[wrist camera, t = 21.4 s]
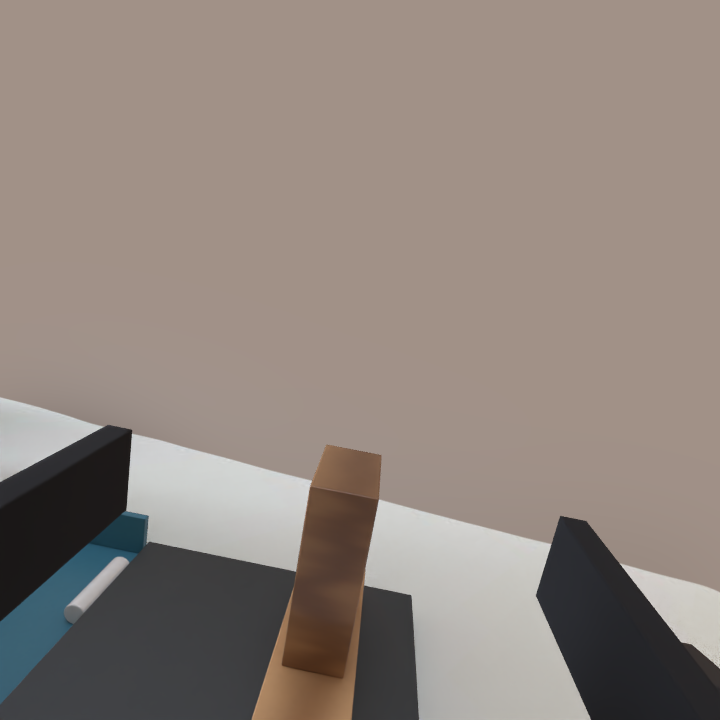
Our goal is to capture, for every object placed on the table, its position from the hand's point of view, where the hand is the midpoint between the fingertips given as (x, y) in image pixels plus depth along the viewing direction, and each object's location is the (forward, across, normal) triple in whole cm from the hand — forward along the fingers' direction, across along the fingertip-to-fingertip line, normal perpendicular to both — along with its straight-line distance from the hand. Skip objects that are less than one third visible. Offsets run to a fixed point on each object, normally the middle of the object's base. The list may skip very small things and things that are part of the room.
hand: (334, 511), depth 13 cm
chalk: (+12, -15, -16) cm, 25 cm away
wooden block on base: (+9, 0, -15) cm, 17 cm away
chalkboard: (+9, -4, -17) cm, 19 cm away
